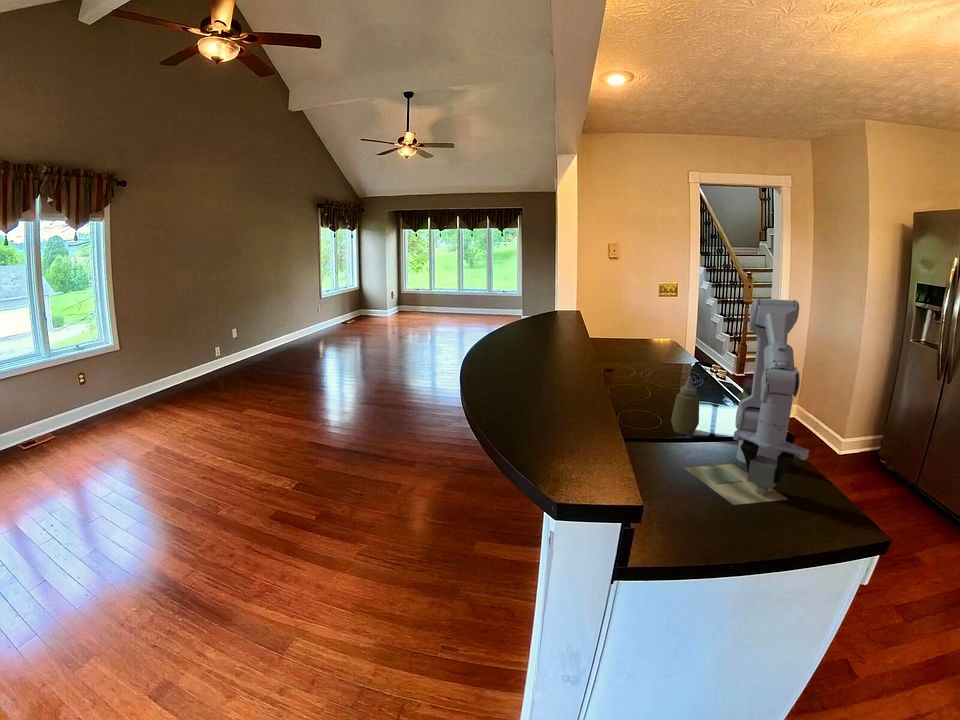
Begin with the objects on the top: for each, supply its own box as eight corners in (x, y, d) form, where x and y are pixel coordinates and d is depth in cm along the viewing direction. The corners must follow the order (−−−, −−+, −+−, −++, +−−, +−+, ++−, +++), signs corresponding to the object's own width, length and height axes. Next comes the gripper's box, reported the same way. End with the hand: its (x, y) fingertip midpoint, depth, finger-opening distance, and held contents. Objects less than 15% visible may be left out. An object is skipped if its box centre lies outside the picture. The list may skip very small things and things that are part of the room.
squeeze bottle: (665, 427, 152) (671, 373, 147) (689, 426, 152) (695, 373, 148) (677, 437, 144) (684, 380, 140) (702, 436, 144) (710, 380, 140)
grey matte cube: (755, 474, 111) (758, 454, 110) (779, 482, 107) (782, 462, 106) (747, 480, 108) (750, 460, 107) (771, 489, 104) (774, 468, 103)
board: (731, 469, 123) (734, 449, 122) (787, 505, 106) (791, 483, 105) (683, 473, 121) (686, 453, 119) (732, 510, 103) (736, 488, 102)
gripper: (731, 416, 107) (723, 471, 110) (805, 436, 96) (794, 496, 99) (743, 410, 111) (735, 462, 115) (815, 428, 101) (804, 485, 104)
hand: (763, 477), depth 107 cm, fingers closed on grey matte cube, 5 cm apart
